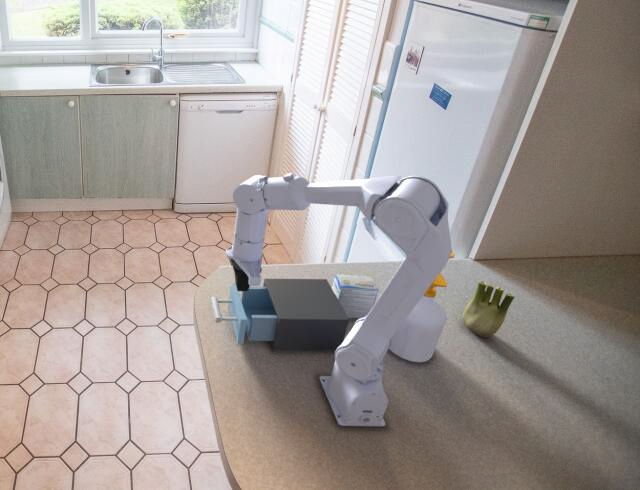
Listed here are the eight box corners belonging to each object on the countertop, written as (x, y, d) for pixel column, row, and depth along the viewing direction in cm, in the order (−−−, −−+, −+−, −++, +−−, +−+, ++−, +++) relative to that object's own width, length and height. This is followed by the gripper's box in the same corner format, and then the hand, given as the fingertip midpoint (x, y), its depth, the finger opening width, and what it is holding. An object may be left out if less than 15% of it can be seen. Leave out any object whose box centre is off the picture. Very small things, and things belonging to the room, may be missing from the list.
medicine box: (363, 305, 103) (371, 275, 99) (370, 320, 99) (380, 290, 95) (327, 303, 104) (334, 273, 100) (333, 317, 100) (341, 287, 96)
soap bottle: (439, 367, 88) (481, 267, 78) (389, 359, 90) (423, 260, 79) (422, 331, 96) (458, 236, 86) (376, 324, 98) (405, 231, 87)
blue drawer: (215, 344, 92) (218, 319, 89) (207, 306, 101) (210, 282, 99) (299, 345, 92) (304, 320, 89) (283, 307, 101) (288, 283, 98)
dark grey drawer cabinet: (273, 350, 92) (279, 318, 88) (259, 308, 102) (264, 278, 99) (340, 351, 92) (349, 319, 88) (319, 308, 102) (326, 279, 98)
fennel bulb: (498, 338, 95) (519, 294, 89) (480, 343, 93) (500, 299, 88) (472, 318, 100) (490, 275, 95) (454, 323, 98) (472, 279, 93)
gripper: (221, 213, 94) (216, 265, 100) (236, 258, 81) (229, 315, 87) (255, 213, 94) (248, 265, 100) (275, 258, 81) (266, 315, 87)
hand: (241, 288), depth 93 cm, fingers closed
